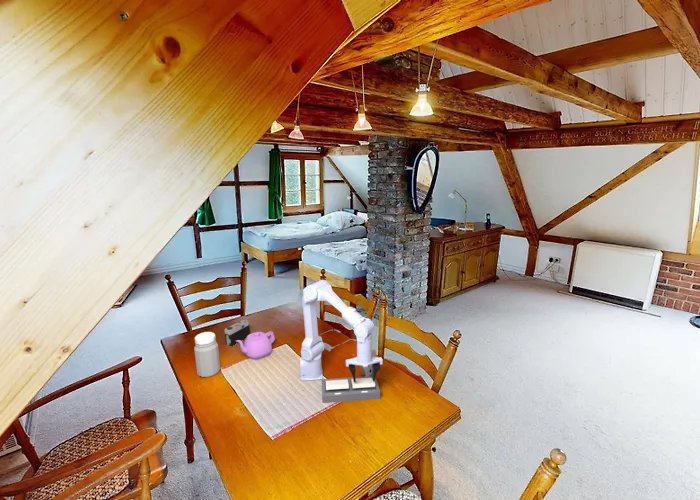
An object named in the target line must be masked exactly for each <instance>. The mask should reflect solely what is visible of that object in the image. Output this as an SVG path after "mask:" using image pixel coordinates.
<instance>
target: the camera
mask: <svg viewBox="0 0 700 500" xmlns="http://www.w3.org/2000/svg"><path fill="white" fill-rule="evenodd" d="M250 330H251V329H250V323H249V320H247V319H241V320H240V321H238V322H236V323H234V324H232V325H230V326H227V327H226V328H224V337H225V338H224V340H225V346H226V345H229V346H232V347H234V346H236V345H237V344H239V343H238V342H237V341H236V340H241V341H242V340H243V341H245V340H246V339H245V338H246V337H247V336H248V335H249V334H251V331H250ZM243 341H242V342H243ZM236 343H237V344H236ZM235 344H236V345H235ZM233 345H234V346H233Z"/></svg>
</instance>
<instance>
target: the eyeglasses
mask: <svg viewBox="0 0 700 500" xmlns="http://www.w3.org/2000/svg"><path fill="white" fill-rule="evenodd" d="M331 331H332V329H329V330H328V331H326V333H328V332H331ZM335 331H336V332H337V333H341V331H340V330H338V329H335ZM323 334H324V332H323V333H320V334H319V336H321V335H323ZM351 340H352V341H354V342H357V339H354V338H350V339H348V340H346V341H344V342H343V344H344V343H346V342H349V341H351ZM323 344H324V350H326V351H328V352H331V351H332V349H334V348H335V347H336V346H339V344H337V345H335V346H331V345H330V344H328V343H327V342H323Z"/></svg>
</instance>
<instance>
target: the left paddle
mask: <svg viewBox="0 0 700 500" xmlns="http://www.w3.org/2000/svg"><path fill="white" fill-rule="evenodd" d="M347 388H349V384H348V380H347V379H346V380H330V381H326V390H332V389H347Z"/></svg>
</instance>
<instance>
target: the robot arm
mask: <svg viewBox="0 0 700 500" xmlns="http://www.w3.org/2000/svg"><path fill="white" fill-rule="evenodd" d="M302 294H303V295H302V297H301V304H302V313H303V324H304V325H303V326H304V334H305V338H304V339H303V341H302V342H301V348H300V355H301V356H300V357H299V363H300V364H299V367H300V369H299V373H300V381H303V382H304V381H319V380H322V379H324V378H323V368H322V354H323V352H324V351H325V347H324V343H323V338H322V336H321V335H319V329H318V319H317V306H316V302H323V301H324V302H328V303H329V304H330V305H331V306H333V307H334V308H335V309H336V310H337V311H339V313H341V318H342V319H343V320H344V321H345V322H346V323H347V324H348V325H349V326H350V327H351V328H352V329H353V333H354V335H355V336H356V340H357V341H356V356H355V357H352V358H349V359H345V367H348V369H349V372H350V374H351V376H352V377H353V380H354V382H356V378H355V377H356V371H357V369H356V366H360V365H361V366H362V367H368V365H371V364H372V375H371V376H372V379H373V381H375V377H376V378H377V374H378V372H379V371H380V369H381V365H383V357H381V356H380V357H378V356H377V357H371V351H372V345H373V344H372V343H373V341H372V336H373V335H372V333H373V331H374V329H375V325H374V322H373V321H372V320H371V319H370V318H368V317H367V318H366V317H364V316H362V315H361V314H360V313H359V311H357V309H356V308H355V307H353V306H348V305H347V304H346V303H344V301H343V300H342V299H341V298H340V297H339V296H338V295H337V294H336V292H334V290H333V288H332V285H331V284H329V282H328V281H326V280H325V279H320V280H318V281H316V282H314V283H312V284H310V285H307V286H306V287H304V288H303V289H302Z"/></svg>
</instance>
